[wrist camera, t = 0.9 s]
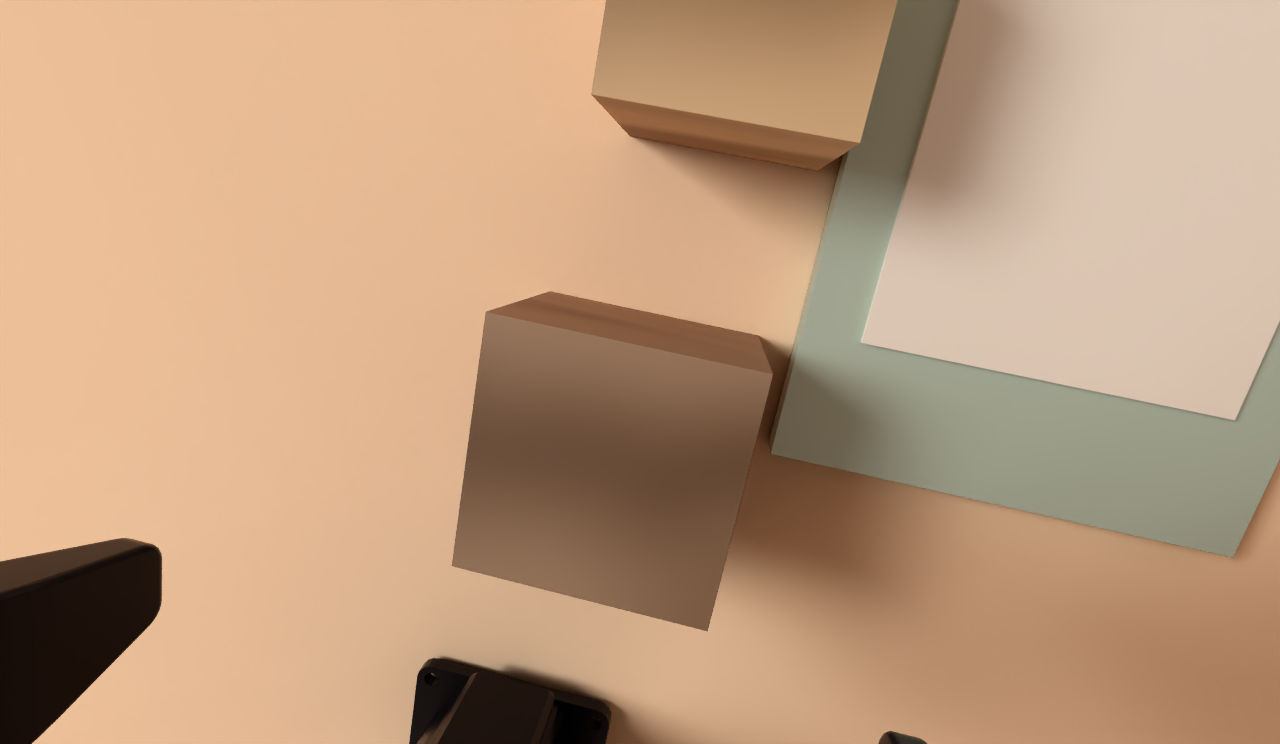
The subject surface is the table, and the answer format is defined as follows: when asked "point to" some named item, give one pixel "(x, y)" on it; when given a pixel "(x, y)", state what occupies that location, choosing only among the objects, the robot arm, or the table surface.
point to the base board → (1057, 267)
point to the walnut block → (609, 453)
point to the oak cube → (744, 74)
